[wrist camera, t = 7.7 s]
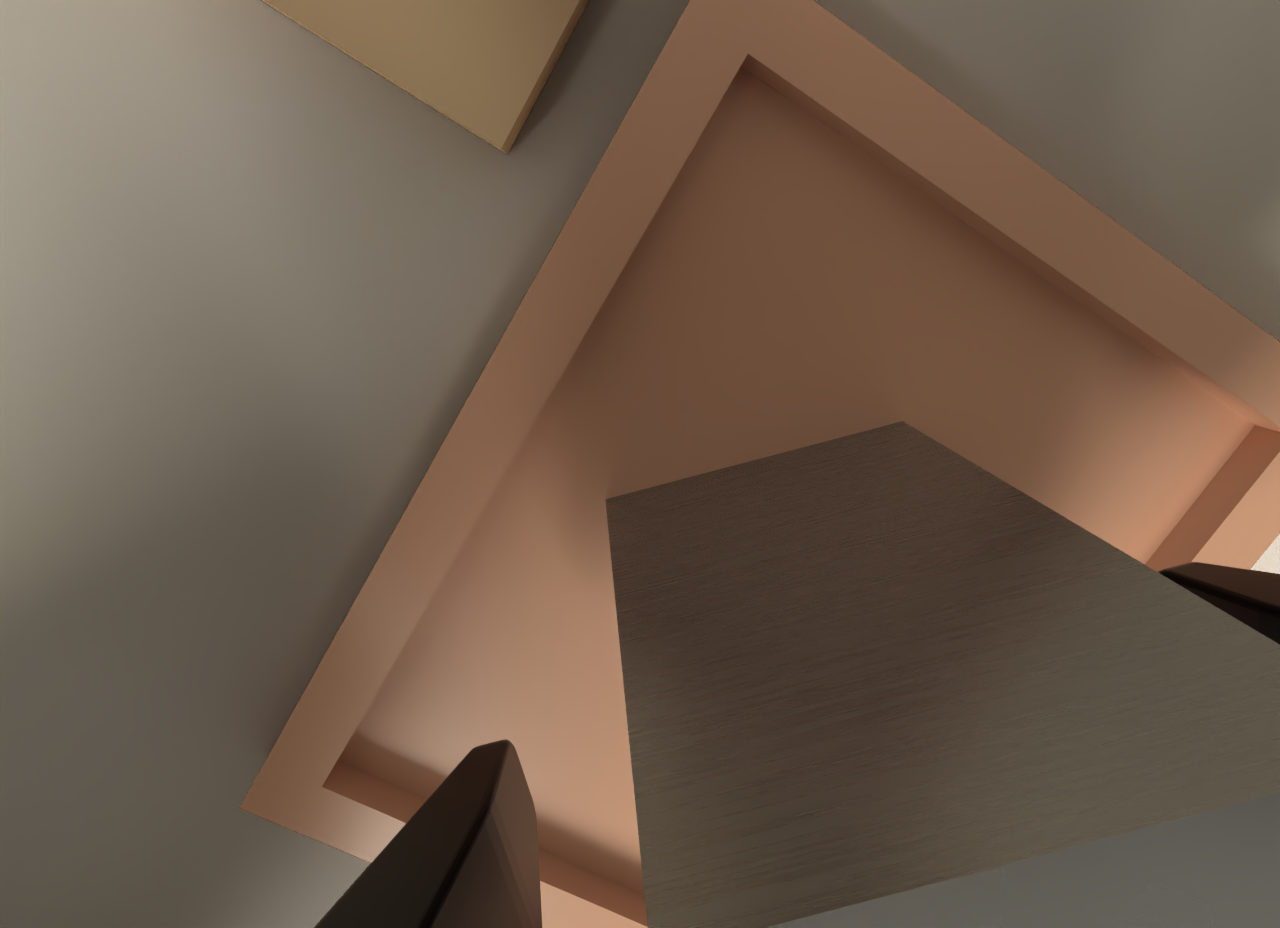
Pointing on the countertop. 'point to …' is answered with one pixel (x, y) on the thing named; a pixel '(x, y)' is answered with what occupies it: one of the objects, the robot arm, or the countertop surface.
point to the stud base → (452, 51)
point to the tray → (760, 412)
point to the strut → (931, 707)
